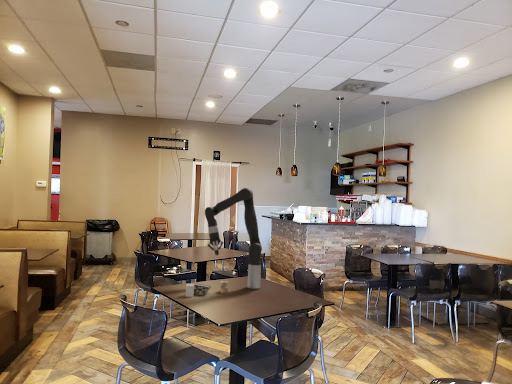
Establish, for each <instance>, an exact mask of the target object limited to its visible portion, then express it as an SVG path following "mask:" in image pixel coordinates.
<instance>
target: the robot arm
mask: <svg viewBox="0 0 512 384" xmlns="http://www.w3.org/2000/svg"><path fill="white" fill-rule="evenodd" d="M239 202H243V204H244V215H243V216H244V224H245V228H246V231H247V234H248V238H249V245H250V246H249V247H248V268H247V270H248V271H247V288H248V289H251V290H252V289H253V290H255V289H257V290H258V289H261V281H262V280H261V277H262V275H261V267H262V250H263V246H262V244H261V243H262V242H261V240H260V237H259V223H258V219H257V214H256V210H255V203H254V193H253V191H252V189H250V188H249V187H243V188H242V189H240V190H239V191H237V193H235V194H233V195H231V196H229V197H228V198H225V199H223V200H221V201H220V202H217V203H216V204H215V205H214V206H213V207H211V206H208V207H206V208H205V209H204V216H205V218H206V221H207V228H208V229H207V230H208V231H207V232H208V236H209V242H208V243H207V246H208V248H209V249H211V251H214V254H215V256H219V253H220V252H219V250H220V249H221V248H222V246H223V245H224V241H221V238H220V232H219V231H220V230H219V227H218V221H217V219H216V218H215V217H216V216H217V215H218V214H220V213H221V212H224V211H225V210H227V209H229V208H231V207H232V206H234V205H235V204H238V203H239ZM212 246H213V247H212Z"/></svg>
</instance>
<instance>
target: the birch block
mask: <svg viewBox="0 0 512 384" xmlns="http://www.w3.org/2000/svg"><path fill="white" fill-rule="evenodd" d="M219 291H220V293H221V294H228V293H229V281H227V280H221V281H220V288H219Z"/></svg>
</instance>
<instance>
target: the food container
mask: <svg viewBox="0 0 512 384" xmlns="http://www.w3.org/2000/svg"><path fill="white" fill-rule="evenodd" d="M193 284H194V294H196V295H197V296H198V295H199V296H204V295H206V294H207V293H208V291H210V290H211V287H212V285H208V284H202V283H193Z"/></svg>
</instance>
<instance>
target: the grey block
mask: <svg viewBox="0 0 512 384" xmlns="http://www.w3.org/2000/svg"><path fill="white" fill-rule="evenodd" d="M194 284H195V283H187V284H186V286H185V297H188V298H189V297H191V298H194V294H195V292H194Z"/></svg>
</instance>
